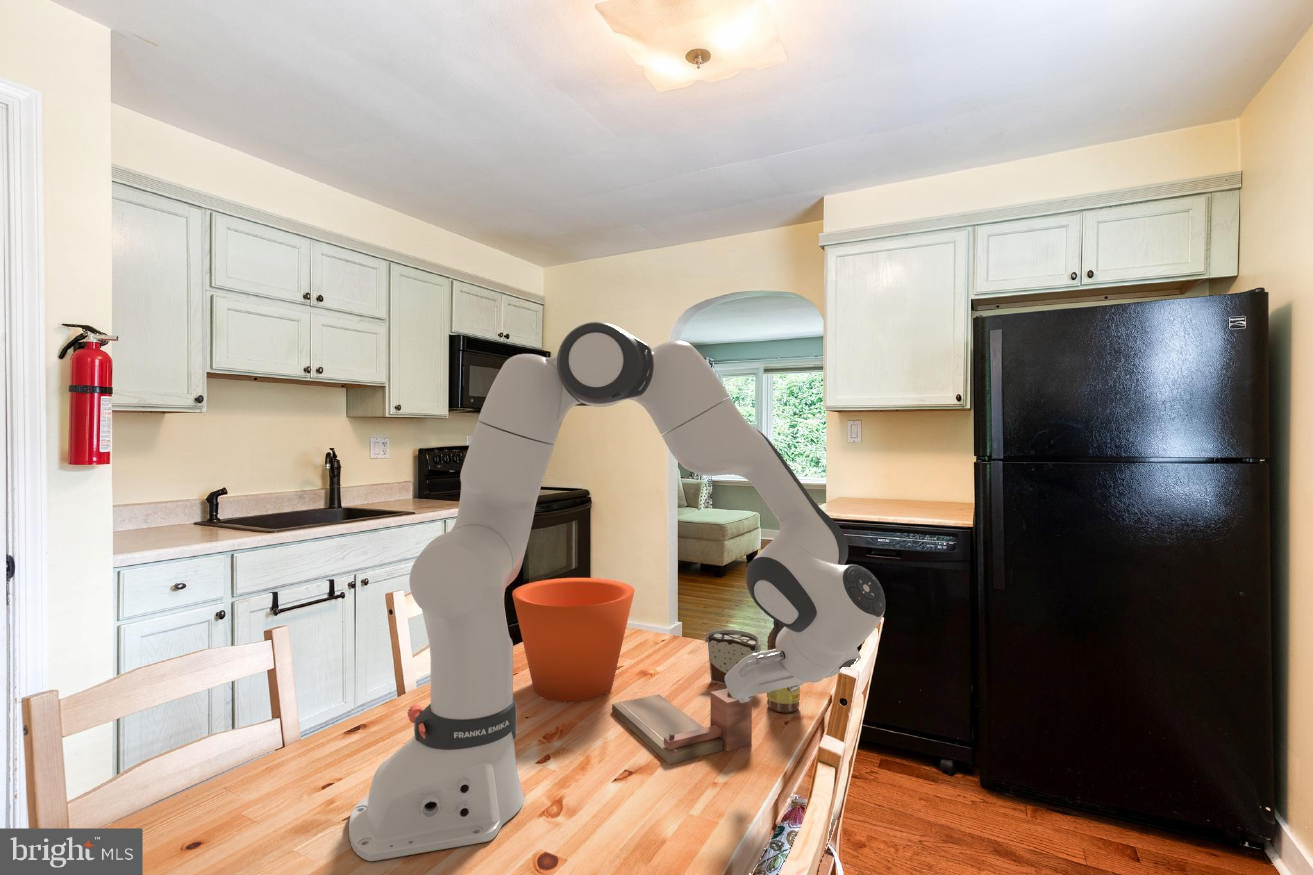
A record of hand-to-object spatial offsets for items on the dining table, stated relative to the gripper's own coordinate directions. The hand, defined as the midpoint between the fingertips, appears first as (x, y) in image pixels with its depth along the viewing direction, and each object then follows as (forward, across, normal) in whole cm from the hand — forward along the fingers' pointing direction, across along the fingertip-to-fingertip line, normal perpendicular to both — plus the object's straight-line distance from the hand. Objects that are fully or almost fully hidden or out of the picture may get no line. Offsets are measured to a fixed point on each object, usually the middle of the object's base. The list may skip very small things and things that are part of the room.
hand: (766, 691), depth 102 cm
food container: (+30, +16, +13) cm, 36 cm away
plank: (+20, -9, +4) cm, 22 cm away
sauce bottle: (+19, +16, +2) cm, 25 cm away
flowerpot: (+39, -16, +23) cm, 48 cm away
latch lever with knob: (+14, -6, -2) cm, 15 cm away
